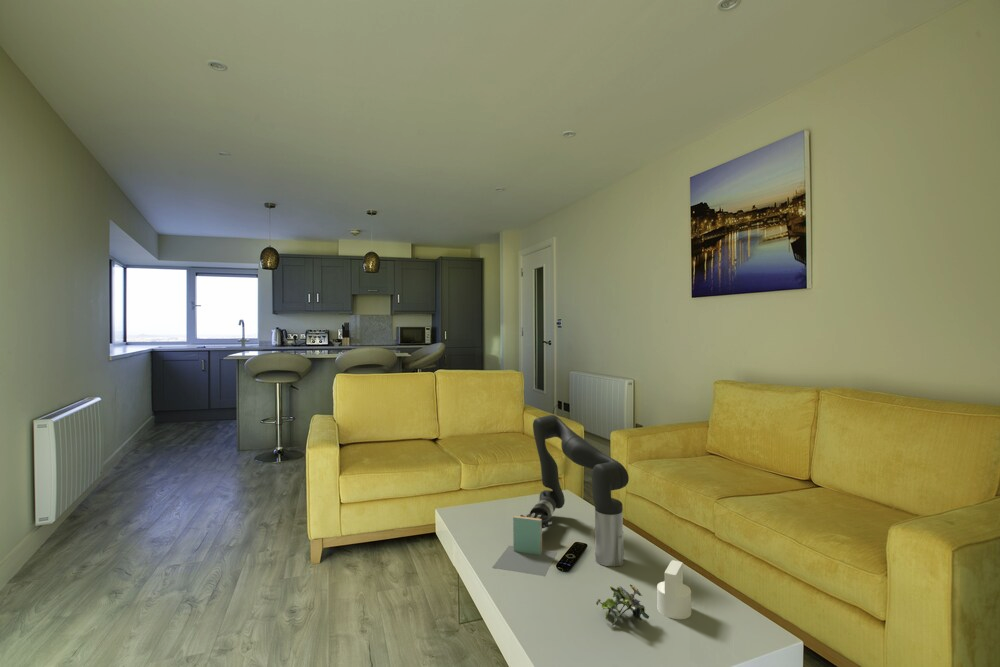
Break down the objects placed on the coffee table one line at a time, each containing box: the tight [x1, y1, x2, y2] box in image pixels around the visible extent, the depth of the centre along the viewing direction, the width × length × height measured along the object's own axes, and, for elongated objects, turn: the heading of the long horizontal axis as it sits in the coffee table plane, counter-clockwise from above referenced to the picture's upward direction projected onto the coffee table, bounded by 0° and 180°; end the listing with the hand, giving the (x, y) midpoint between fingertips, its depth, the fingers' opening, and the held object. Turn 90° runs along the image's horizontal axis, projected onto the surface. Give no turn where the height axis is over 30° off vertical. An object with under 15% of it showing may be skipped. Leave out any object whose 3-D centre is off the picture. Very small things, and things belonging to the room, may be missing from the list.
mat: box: [491, 545, 558, 577], centre depth 172 cm, size 18×18×1 cm
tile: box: [512, 515, 543, 555], centre depth 178 cm, size 10×2×12 cm, turn 71°
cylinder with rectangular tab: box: [656, 559, 692, 620], centre depth 141 cm, size 9×9×12 cm
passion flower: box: [595, 584, 650, 626], centre depth 136 cm, size 11×11×12 cm
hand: (529, 529), depth 180 cm, fingers closed
